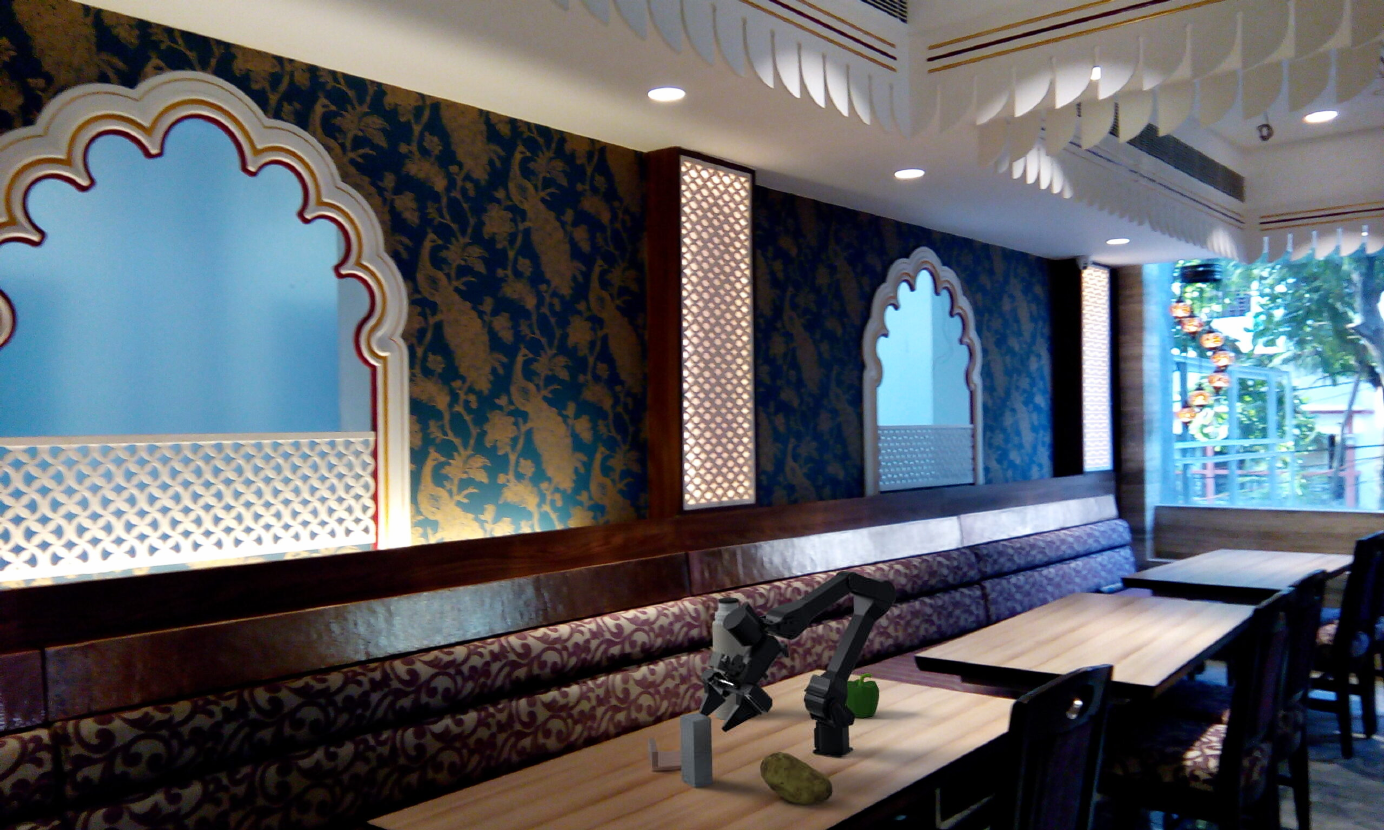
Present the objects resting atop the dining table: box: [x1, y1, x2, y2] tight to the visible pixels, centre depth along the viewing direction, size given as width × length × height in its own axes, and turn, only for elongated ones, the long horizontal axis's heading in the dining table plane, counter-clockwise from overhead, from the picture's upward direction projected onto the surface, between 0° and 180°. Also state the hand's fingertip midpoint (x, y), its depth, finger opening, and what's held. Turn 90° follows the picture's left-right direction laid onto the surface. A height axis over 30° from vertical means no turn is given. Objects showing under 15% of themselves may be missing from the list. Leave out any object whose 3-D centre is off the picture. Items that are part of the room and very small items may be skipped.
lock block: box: [679, 712, 714, 789], centre depth 196 cm, size 4×5×12 cm
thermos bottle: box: [711, 597, 747, 720], centre depth 243 cm, size 8×8×28 cm
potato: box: [759, 751, 833, 805], centre depth 184 cm, size 8×13×8 cm, turn 47°
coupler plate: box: [647, 737, 681, 772], centre depth 208 cm, size 10×10×4 cm
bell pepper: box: [845, 672, 880, 719], centre depth 240 cm, size 8×8×10 cm
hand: (710, 725), depth 197 cm, fingers open, 9 cm apart
